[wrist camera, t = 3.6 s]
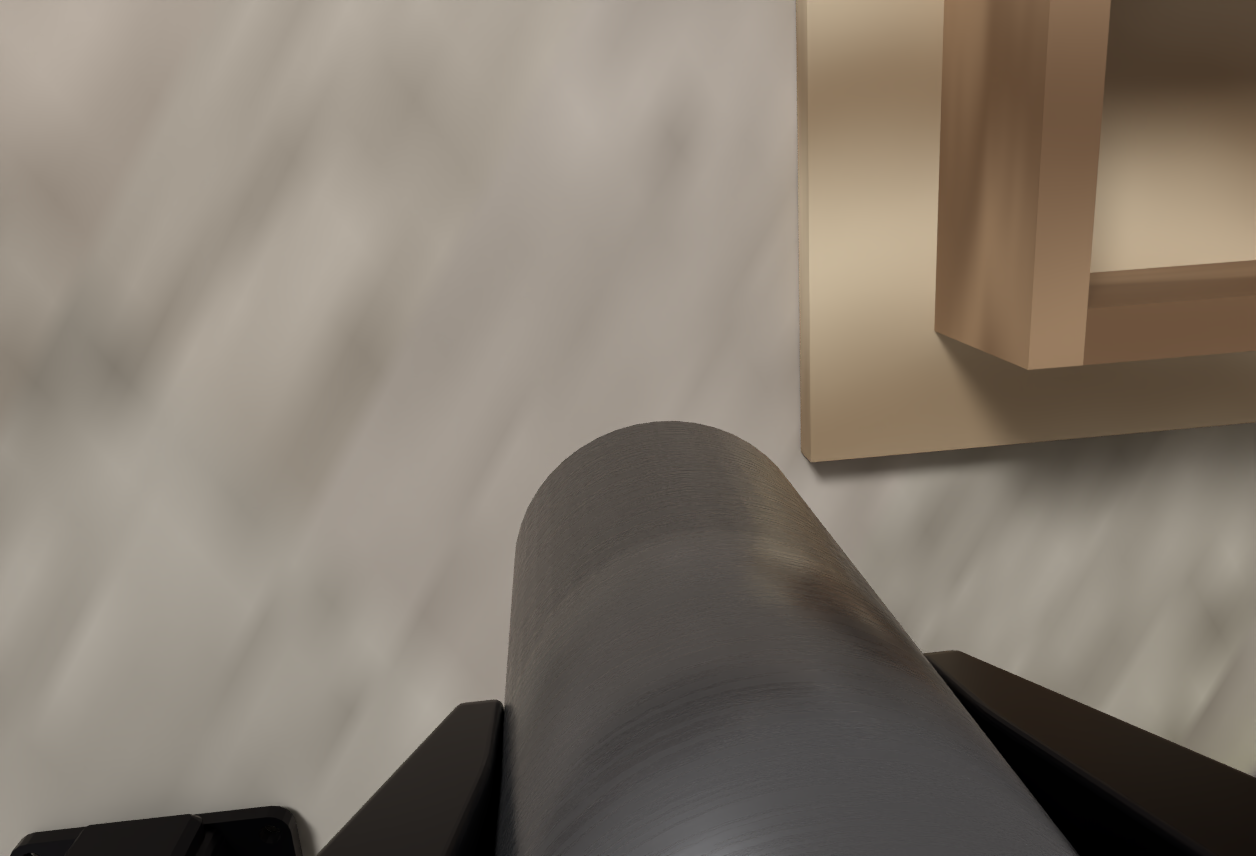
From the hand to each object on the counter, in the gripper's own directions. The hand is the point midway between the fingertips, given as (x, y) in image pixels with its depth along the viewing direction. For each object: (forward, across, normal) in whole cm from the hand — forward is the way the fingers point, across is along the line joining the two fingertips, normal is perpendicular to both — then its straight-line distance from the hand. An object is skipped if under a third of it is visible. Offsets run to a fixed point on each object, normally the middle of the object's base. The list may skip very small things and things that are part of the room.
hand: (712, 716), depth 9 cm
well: (+12, -11, -6) cm, 17 cm away
